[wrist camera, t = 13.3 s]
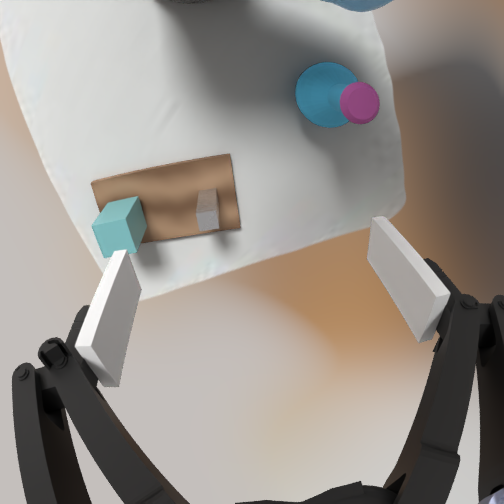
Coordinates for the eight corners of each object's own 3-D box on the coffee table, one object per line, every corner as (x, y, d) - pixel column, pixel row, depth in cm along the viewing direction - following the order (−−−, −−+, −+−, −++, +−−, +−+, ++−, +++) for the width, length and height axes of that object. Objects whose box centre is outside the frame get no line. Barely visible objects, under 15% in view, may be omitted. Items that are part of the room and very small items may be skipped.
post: (199, 190, 46) (195, 213, 39) (216, 187, 46) (216, 210, 39) (202, 206, 47) (199, 231, 40) (218, 203, 47) (219, 228, 41)
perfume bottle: (311, 133, 44) (349, 162, 31) (275, 84, 39) (302, 90, 27) (359, 101, 41) (412, 119, 29) (326, 51, 37) (373, 46, 24)
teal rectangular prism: (107, 202, 44) (91, 225, 38) (138, 195, 44) (125, 218, 38) (117, 231, 47) (104, 258, 40) (147, 226, 47) (136, 252, 40)
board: (92, 181, 44) (90, 183, 43) (229, 153, 44) (230, 155, 43) (114, 245, 50) (112, 248, 49) (239, 224, 51) (240, 227, 50)
